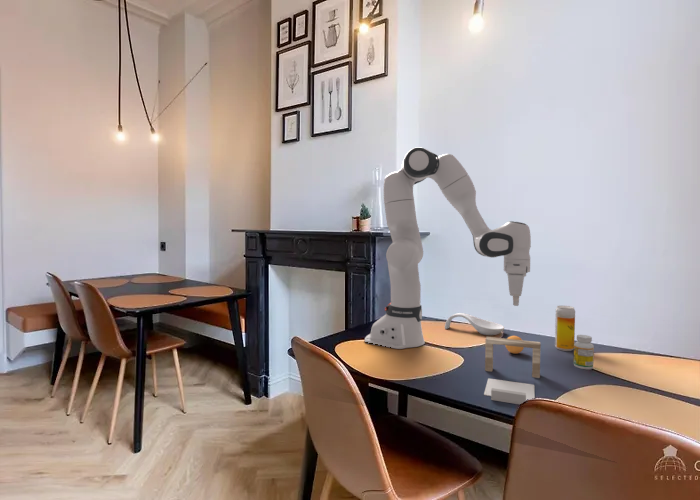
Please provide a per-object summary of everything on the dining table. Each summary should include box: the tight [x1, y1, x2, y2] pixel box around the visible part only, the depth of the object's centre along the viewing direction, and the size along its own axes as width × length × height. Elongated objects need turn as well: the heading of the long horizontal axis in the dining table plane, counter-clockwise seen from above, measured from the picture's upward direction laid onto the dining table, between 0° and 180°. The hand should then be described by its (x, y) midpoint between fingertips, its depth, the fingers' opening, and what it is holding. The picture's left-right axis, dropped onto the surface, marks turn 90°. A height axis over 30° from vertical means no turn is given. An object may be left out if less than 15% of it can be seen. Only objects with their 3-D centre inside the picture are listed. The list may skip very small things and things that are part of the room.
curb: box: [490, 388, 526, 405], centre depth 101 cm, size 8×2×2 cm, turn 66°
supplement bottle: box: [573, 334, 595, 370], centre depth 125 cm, size 5×5×10 cm
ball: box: [504, 335, 525, 355], centre depth 139 cm, size 6×6×6 cm
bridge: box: [484, 336, 542, 379], centre depth 121 cm, size 3×15×10 cm, turn 66°
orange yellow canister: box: [554, 305, 576, 352], centre depth 143 cm, size 6×6×15 cm
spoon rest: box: [444, 312, 505, 336], centre depth 168 cm, size 24×12×7 cm, turn 60°
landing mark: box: [483, 377, 536, 400], centre depth 108 cm, size 12×12×1 cm
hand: (516, 304), depth 147 cm, fingers open, 2 cm apart
